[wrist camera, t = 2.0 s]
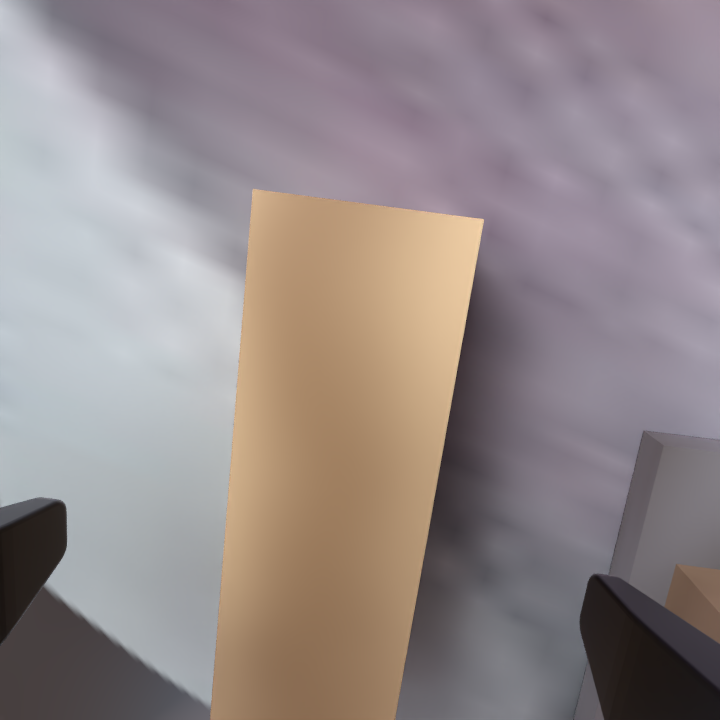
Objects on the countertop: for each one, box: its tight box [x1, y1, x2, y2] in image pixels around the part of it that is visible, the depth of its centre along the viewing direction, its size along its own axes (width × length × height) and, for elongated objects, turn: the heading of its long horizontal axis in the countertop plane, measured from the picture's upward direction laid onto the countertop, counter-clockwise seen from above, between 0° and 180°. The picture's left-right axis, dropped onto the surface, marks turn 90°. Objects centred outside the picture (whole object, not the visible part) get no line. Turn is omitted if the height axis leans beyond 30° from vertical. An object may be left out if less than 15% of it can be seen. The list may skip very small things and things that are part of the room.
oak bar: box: [210, 189, 484, 720], centre depth 12 cm, size 4×12×4 cm, turn 172°
